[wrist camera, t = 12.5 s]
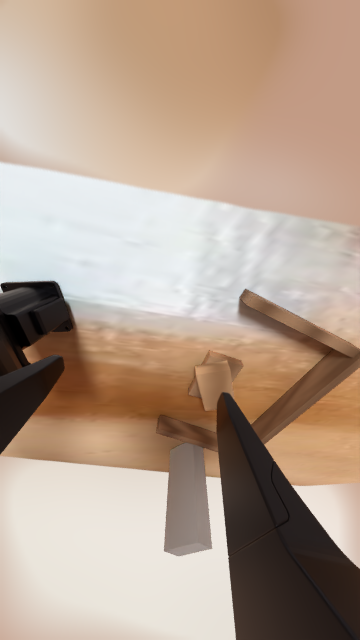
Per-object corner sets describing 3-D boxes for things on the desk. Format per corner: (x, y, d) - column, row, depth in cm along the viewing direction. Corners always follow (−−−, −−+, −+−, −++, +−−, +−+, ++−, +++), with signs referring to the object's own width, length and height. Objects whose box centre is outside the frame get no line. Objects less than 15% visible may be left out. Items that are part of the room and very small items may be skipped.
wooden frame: (158, 418, 31) (155, 436, 28) (245, 288, 20) (255, 296, 17) (237, 444, 34) (241, 462, 31) (350, 343, 23) (372, 357, 20)
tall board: (170, 449, 35) (164, 551, 24) (192, 438, 33) (197, 542, 22) (180, 456, 36) (178, 556, 25) (202, 445, 34) (212, 548, 23)
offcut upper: (203, 400, 27) (205, 411, 25) (195, 365, 24) (195, 375, 22) (232, 396, 26) (235, 406, 25) (227, 360, 23) (230, 369, 22)
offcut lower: (188, 385, 28) (188, 394, 26) (208, 347, 25) (210, 355, 23) (216, 393, 29) (218, 403, 27) (239, 357, 25) (243, 366, 24)
